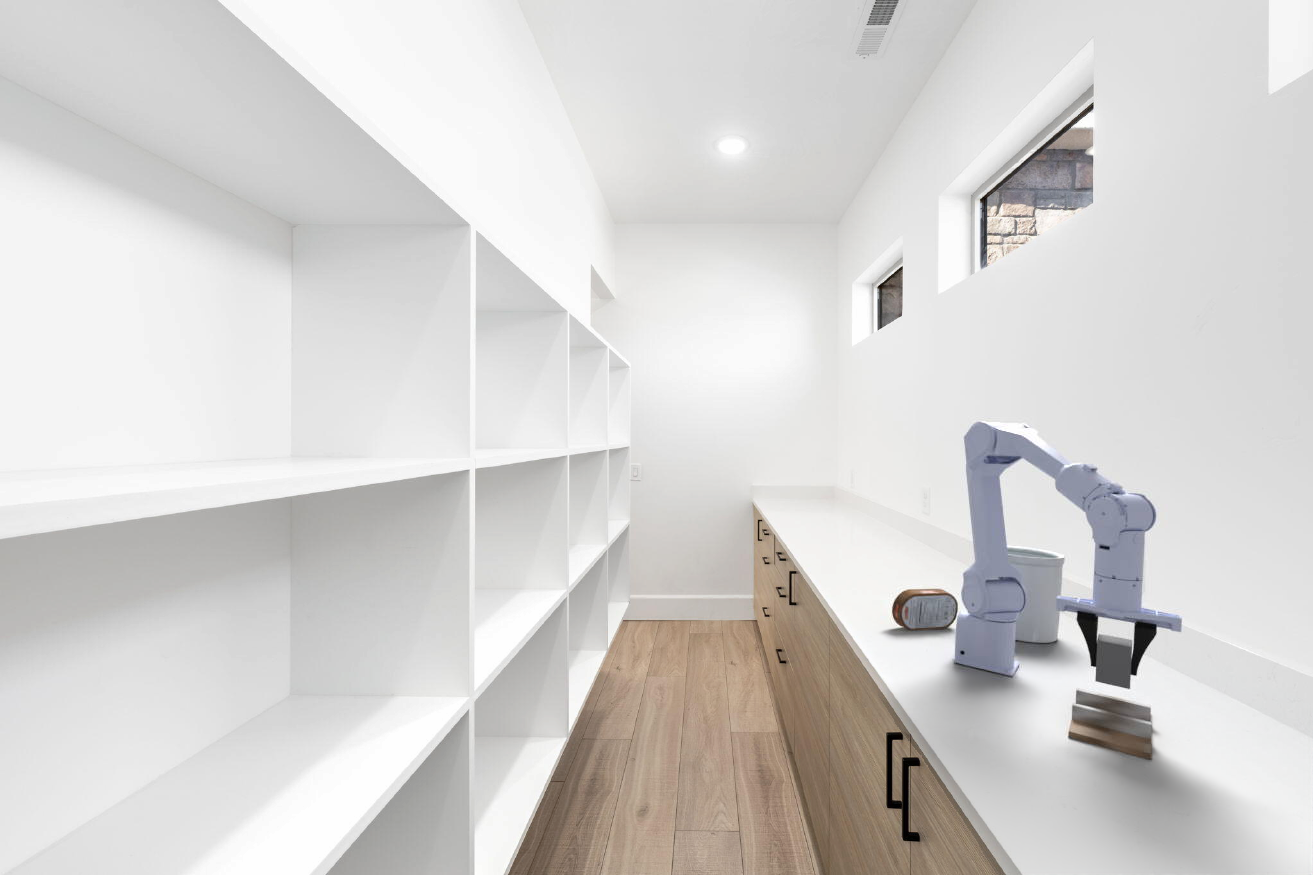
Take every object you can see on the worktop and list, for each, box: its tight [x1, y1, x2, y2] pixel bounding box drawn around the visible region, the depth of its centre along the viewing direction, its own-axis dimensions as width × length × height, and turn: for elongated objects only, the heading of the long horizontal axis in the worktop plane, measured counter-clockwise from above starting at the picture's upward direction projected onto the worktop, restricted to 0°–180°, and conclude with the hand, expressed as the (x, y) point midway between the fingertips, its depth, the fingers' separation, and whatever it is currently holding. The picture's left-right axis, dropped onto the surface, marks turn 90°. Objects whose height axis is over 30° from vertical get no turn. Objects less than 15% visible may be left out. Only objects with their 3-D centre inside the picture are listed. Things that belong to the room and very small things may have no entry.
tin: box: [891, 588, 959, 631], centre depth 133 cm, size 15×3×8 cm, turn 105°
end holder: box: [1067, 687, 1153, 761], centre depth 90 cm, size 9×18×3 cm, turn 142°
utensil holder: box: [987, 545, 1066, 644], centre depth 132 cm, size 15×15×18 cm
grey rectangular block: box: [1094, 633, 1133, 690], centre depth 90 cm, size 4×4×6 cm
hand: (1113, 669), depth 90 cm, fingers closed on grey rectangular block, 4 cm apart
